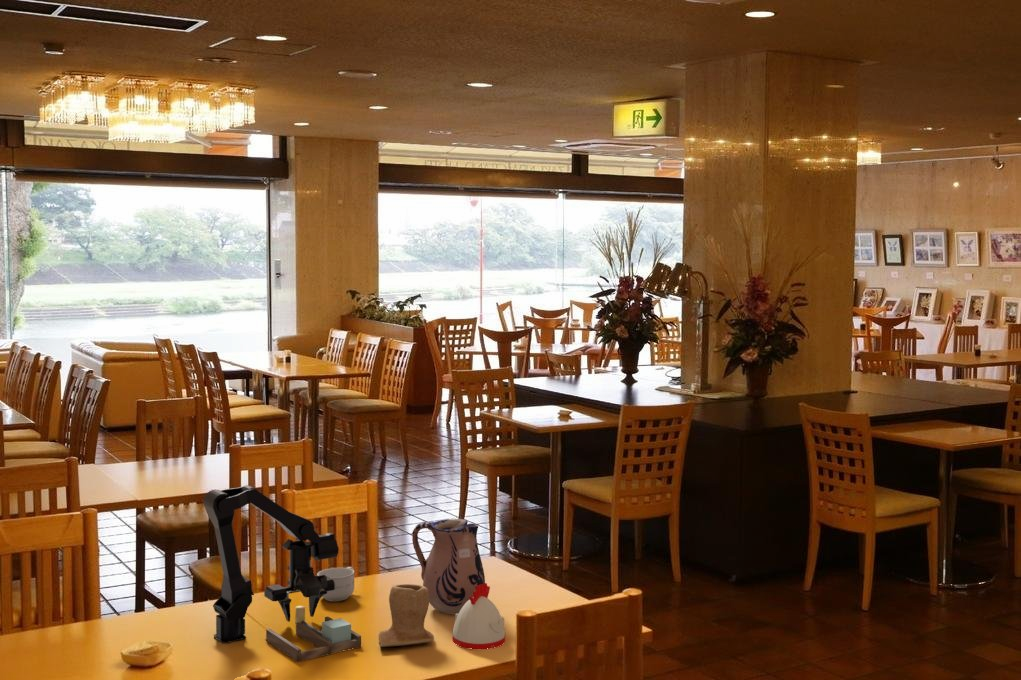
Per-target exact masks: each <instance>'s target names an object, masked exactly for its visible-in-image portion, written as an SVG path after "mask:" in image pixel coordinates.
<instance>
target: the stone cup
mask: <svg viewBox="0 0 1021 680" xmlns="http://www.w3.org/2000/svg"><path fill="white" fill-rule="evenodd" d="M388 603H389V610H390V614H391V623H392V624H391V626H390V628H388V629H385V630H382V631H381V630H380V631H379V633H378V645H379V647H380V648H384V647H385V648H388V647H401V646H402V647H403V646H410V645H419V644H427V643H430V642H433V641H434V639H435V636H434V634H433V633H432V632H430V631H429V630H427V629H426V628H425V621H426V620H425V619H426V617H427V613H428V610H429V606H430V603H429V591H428V589H427V588H426V587H424V586H423V585H421V584H411V583H409V584H408V583H407V584H396V585H395V584H394V585H392V586H391V589H390V592H389V596H388Z"/></svg>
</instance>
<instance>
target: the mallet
mask: <svg viewBox="0 0 1021 680" xmlns="http://www.w3.org/2000/svg"><path fill="white" fill-rule="evenodd" d="M294 609H295V611H294V612H295V613H294V614H295V615H294V616H295V617H294V619H295V621H294V623H295V625H296V623H299V622H300V623H301V624H303V625H304V626H306V627H308V628H309V629H311V630H313V631H314V632H316V633H317V634H319V635H321V636H322V637H324V638H326V639H327V640H329V641H330V642H332V644H337V643H341V642H345V641H350V640H351V630H352V624H351V623H350V622H348V621H347V620H345V619H343V618H341V617H340V618H336V619H333V620H330V621H325V620H324V621H322V622H321V630H319V629H318V628H315V627H314V626H312V625H311V624H310V623H308V622H307V621H306V606H305V605H297V606H295V608H294Z"/></svg>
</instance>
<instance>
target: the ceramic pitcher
mask: <svg viewBox="0 0 1021 680" xmlns="http://www.w3.org/2000/svg"><path fill="white" fill-rule="evenodd" d="M468 522H469V521H468V520H467V519H463V518H451V519H450V518H449V519H448V518H446V519H440V520H436V521H432V522H429V521H424V522H420V523H418V524H416V525H415V527H414V529H412V532H411V533H412V534H411V537H412V538H411V539H412V546H413V549H414V551H415V555H416V557H417V559H418V562H419V565H420V568H421V574H420V575H421V579H422V581H423V582H422V586H424V587H426V588H427V589H428V591H429V605H431V606H432V607H433V609H435V610H437V611H438V612H440V613H443V614H448V615H456V613H457V614H459V612H460V610H461V609H462V607H463V606H464V604H465V603H466V602H467V601H468V600H470V597H473V591H476V586H477V585H478V586H480V584H482V585H483V584H484V583H486V577H485V572H484V567H483V562H482V557H481V555H480V550H479V546H478V539H477V535H478V534H477V533H478V529H479V525H477V524H475V523H468ZM423 529H426V530H427V529H428V530H429V531H430V532H431V533H432V535H433V537H434V541H433V543H432V546H431V549H430V552H429V554H428V556H427V558H425V556H424V553H423V550H422V548H421V546H420V543H419V532H420V531H421V530H423Z"/></svg>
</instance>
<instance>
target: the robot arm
mask: <svg viewBox="0 0 1021 680" xmlns="http://www.w3.org/2000/svg"><path fill="white" fill-rule="evenodd" d="M202 504H203V507H204V509H205V512H206V514H207V516H208V518H209V520H210V522H211V523H212V525H213V527H214V534H215V537H216V543H217V548H218V553H219V558H220V564H221V568H222V574H223V579H222V583H221V595H220V596H219V597H218V598H217V600H216V601H214V603H213V605H212V607H213V610H214V612H215V613H217V614H216V615H215V621H216V622H215V626H216V628H215V634H213V638H215V639H217V640H218V641H219V642H220V643H221V644H226V643H228V644H229V643H231V642H232V643H233V642H236V641H241V640H246V639H247V636H246V635H245V634H246V619H245V618H246V614H247V611H248V608H249V607H250V605H251V604H252V602H253V596H254V595H255V593H254V592H253V588H252V587H253V586H252V585H253V584H252V580H251V579H249V578H247V577H246V576H244V575H243V574H242V571H241V570H242V568H241V564H240V560H239V554H238V549H237V548H238V547H237V543H236V538H235V533H234V528H233V521H234V518H235V517H234V516H235V511H236V510H239V509H241V508H243V507H245V506H247V505H252V506H253V507H255V508H256V509H258V510H259V511H261V512H263V513H264V514H265V515H267V516H268V517H270V518H272V519H273V520H275V521H276V522H277V523H278V524H279V526H280V527H281V528H282V529H283V530H284V531H285V532H286V533H287V535H289V536H291V537H293V538H295V539H297V540H292V539H290V538H287V539H286V541H285V542H283V544H282V545H281V547H282V548H283V549H285V550H287V551H289V564H287V565H286V566H287V570H288V571H289V579H288V580H287V585H289V586H282V585H280V584H278V583H277V584H272V585H267V586H266V587H265V589H264V592H263V593H264V595H263V596H264V597H265V598H266V599H268V600H270V601H271V602H278V604H279V606H280V608H281V610H282V613H283V615H284V617H285V620H286V621H287V622H289V623H290V622H291V603H292V599H291V598H290V594H296V593H299V592H301V594H302V597H304V598H308V608H309V609H308V610H309V616H310V617H311V618H312V617H314V615H315V613H316V610H317V607H318V605H319V602H320V600H321V599H322V598H323V597H322V596H323V595H325V594H327V592H326V591H331V590H335V582H334V580H333V579H331V578H329V577H327V576H325V575H321V576H317V575H315V573H314V572H315V571H314V567H313V566H312V558H313V559H314V561H322V560H326V559H333V558H337V557H338V554H339V550H340V549H339V548H340V547H339V545H338V542H337V540H336V536H335V533H332V532H327V533H324V534H318V532H317V531H315V524H314V522H312V521H311V520H310V519H307V518H305V517H304V516H301V515H298V514H296V513H293V512H291V511H289V510H287V509H286V508H284V507H283V506H281V505H280V504H279V503H277V502H275V501H273V500H272V499H270V498H269V497H268V496H266V495H265V494H264V493H262V492H260V491H259V489H257V488H255V487H253V486H251V485H247V484H246V485H244V486H240V487H234V488H233V487H231V488H224V489H222V490H219V489H211V490H209V491H208V492H207V493H206V494H205V496H204V497H203V501H202Z"/></svg>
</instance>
